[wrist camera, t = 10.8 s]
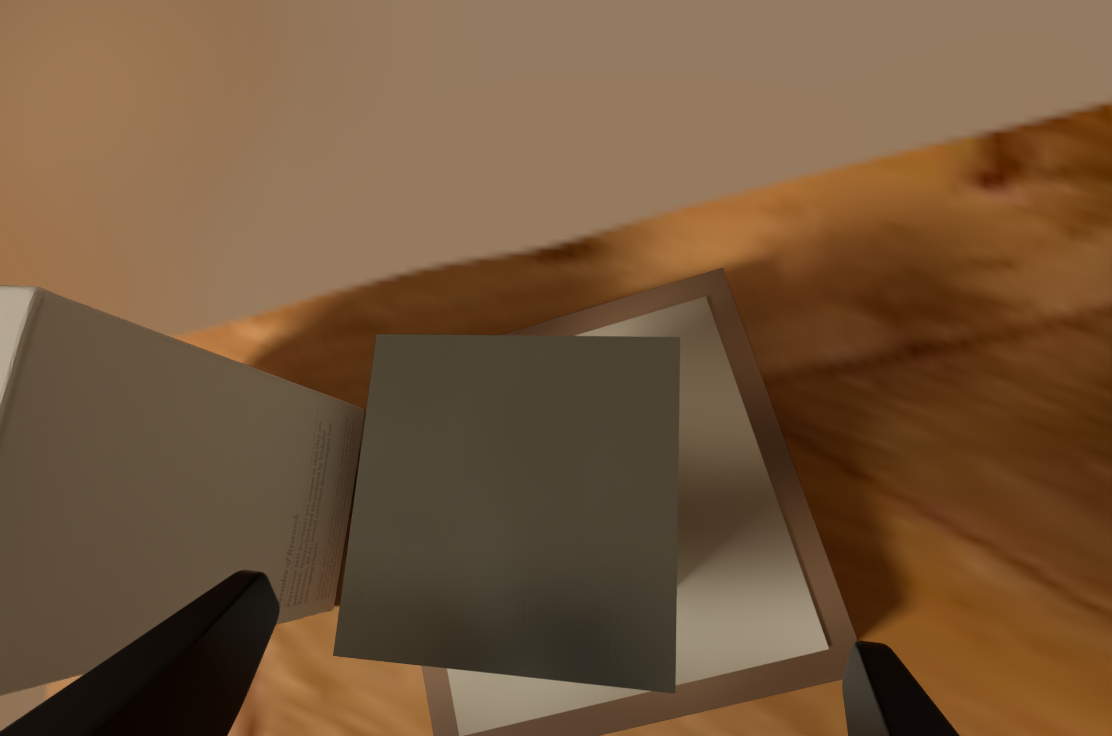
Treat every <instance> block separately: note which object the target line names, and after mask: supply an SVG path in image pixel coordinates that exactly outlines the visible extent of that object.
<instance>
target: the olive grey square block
mask: <svg viewBox="0 0 1112 736" xmlns="http://www.w3.org/2000/svg"><path fill="white" fill-rule="evenodd" d="M679 394H680V337H633V336H530V335H428V334H376V341H375V349H374V356H373V364H372V371H371V378H370V386H369V393H368V401H367V408H366V416H365V423H364V430H363V438H362V445H361V453H360V460H359V468H358V475H357V482H356V490H355V497H354V505H353V512H352V520H351V527H350V534H349V542H348V549H347V557H346V564H345V572H344V579H343V586H342V594H341V601H340V609H339V616H338V624H337V631H336V638H335V646H334V653H333V656H340V657H349V658H358V659H367V660H376V661H385V662H394V663H403V664H412V665H421V666H430V667H439V668H448V669H457V670H466V671H475V672H484V673H493V674H502V675H511V676H520V677H529V678H538V679H547V680H556V681H565V682H574V683H583V684H592V685H601V686H610V687H619V688H628V689H637V690H646V691H656V692H665V693H674V694H675V689H676V615H677V541H678V468H679Z"/></svg>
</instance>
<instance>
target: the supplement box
mask: <svg viewBox="0 0 1112 736" xmlns="http://www.w3.org/2000/svg"><path fill="white" fill-rule="evenodd" d="M364 413H365V412H364V410H363V409H362V408H360V407H358V406H356V405H353V404H350V403H348V402H345V401H343V400H340V399H337V398H335V397H332V396H329V395H327V394H324V393H321V392H319V391H316V390H313V389H310V388H307V387H305V386H302V385H299V384H297V383H294V382H291V381H289V380H286V379H283V378H281V377H278V376H275V375H273V374H270V373H267V372H265V371H262V370H259V369H256V368H254V367H251V366H248V365H245V364H243V363H240V362H237V361H234V360H231V359H229V358H226V357H223V356H221V355H218V354H215V353H213V352H210V351H207V350H204V349H202V348H199V347H196V346H194V345H191V344H188V343H185V342H183V341H180V340H177V339H174V338H172V337H169V336H166V335H164V334H161V333H158V332H156V331H153V330H151V329H148V328H145V327H142V326H140V325H137V324H135V323H132V322H129V321H127V320H124V319H121V318H118V317H116V316H113V315H110V314H108V313H105V312H102V311H100V310H97V309H94V308H92V307H89V306H86V305H84V304H81V303H78V302H75V301H72V300H69V299H67V298H65V297H62V296H60V295H57V294H55V293H52V292H50V291H47V290H45V289H43V288H40V287H32V286H8V285H6V286H5V285H0V696H2V695H6V694H10V693H14V692H18V691H21V690H25V689H29V688H33V687H37V686H41V685H45V684H48V683H52V682H56V681H60V680H64V679H68V678H71V677H75V676H79V675H83V674H86V673H87V672H89V671H90V670H92V669H93V668H94V667H96V666H97V665H99V664H100V663H102V662H103V661H105V660H106V659H108V658H109V657H111V656H112V655H114V654H115V653H117V652H118V651H120V650H121V649H123V648H124V647H126V646H127V645H128V644H130V643H131V642H133V641H134V640H136V639H137V638H139V637H140V636H142V635H143V634H145V633H146V632H148V631H149V630H151V629H152V628H154V627H155V626H157V625H158V624H159V623H161V622H162V621H164V620H165V619H167V618H168V617H170V616H171V615H173V614H174V613H176V612H177V611H179V610H180V609H182V608H183V607H185V606H186V605H188V604H189V603H191V602H192V601H193V600H195V599H196V598H198V597H199V596H201V595H202V594H204V593H205V592H207V591H208V590H210V589H211V588H213V587H214V586H216V585H217V584H219V583H220V582H222V581H223V580H224V579H226V578H227V577H229V576H230V575H232V574H233V573H235V572H237V571H240V570H252V571H260V572H263V573H265V574H266V575H267V576H268V578H269V581H270V583H271V585H272V587H273V590H274V592H275V594H276V596H277V599H278V601H279V604H280V613H279V618H278V621H277V623H276V625H277V624H281V623H285V622H289V621H293V620H297V619H301V618H304V617H308V616H312V615H316V614H319V613H323V612H329V611H332V609H333V608H334V602H335V598H336V592H337V586H338V580H339V575H340V568H341V562H342V555H343V550H344V543H345V538H346V532H347V526H348V519H349V513H350V507H351V501H352V496H353V489H354V483H355V476H356V470H357V464H358V457H359V450H360V444H361V440H362V432H363V423H364Z"/></svg>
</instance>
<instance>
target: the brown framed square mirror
mask: <svg viewBox="0 0 1112 736" xmlns="http://www.w3.org/2000/svg"><path fill="white" fill-rule="evenodd" d="M502 335H530V336H633V337H680V394H679V468H678V541H677V615H676V689H675V694H674V693H665V692H656V691H646V690H637V689H628V688H619V687H610V686H601V685H592V684H583V683H574V682H565V681H556V680H547V679H538V678H529V677H520V676H511V675H502V674H493V673H484V672H475V671H466V670H457V669H448V668H439V667H430V666H422V671H423V677H424V682H425V688H426V694H427V700H428V705H429V711H430V717H431V723H432V729H433V734H434V736H600V735H604V734H608V733H613V732H617V731H621V730H626V729H630V728H634V727H639V726H643V725H647V724H651V723H656V722H660V721H664V720H669V719H673V718H677V717H682V716H686V715H690V714H695V713H699V712H703V711H708V710H712V709H716V708H721V707H725V706H729V705H733V704H738V703H742V702H746V701H751V700H755V699H759V698H764V697H768V696H772V695H777V694H781V693H785V692H790V691H794V690H798V689H803V688H807V687H811V686H815V685H820V684H824V683H828V682H833V681H837V680H841V679H843V674H844V671H845V668H846V665H847V661H848V658H849V655H850V651H851V648H852V646H853V644H854V643H855V642H856V641H858V640H857V638H856V635H855V632H854V629H853V626H852V624H851V621H850V618H849V615H848V613H847V610H846V607H845V604H844V602H843V599H842V596H841V593H840V591H839V588H838V585H837V582H836V580H835V577H834V574H833V571H832V569H831V566H830V563H829V560H828V558H827V555H826V552H825V549H824V547H823V544H822V541H821V538H820V535H819V533H818V530H817V527H816V524H815V522H814V519H813V516H812V513H811V511H810V508H809V505H808V502H807V500H806V497H805V494H804V491H803V489H802V486H801V483H800V480H799V478H798V475H797V472H796V469H795V467H794V464H793V461H792V458H791V456H790V453H789V450H788V447H787V444H786V442H785V439H784V436H783V433H782V431H781V428H780V425H779V422H778V420H777V417H776V414H775V411H774V409H773V406H772V403H771V400H770V398H769V395H768V392H767V389H766V387H765V384H764V381H763V378H762V376H761V373H760V370H759V367H758V364H757V362H756V359H755V356H754V353H753V351H752V348H751V345H750V342H749V340H748V337H747V334H746V331H745V329H744V326H743V323H742V320H741V318H740V315H739V312H738V309H737V307H736V304H735V301H734V298H733V296H732V293H731V290H730V287H729V285H728V282H727V279H726V276H725V273H724V271H723V268H721V269H717V270H714V271H711V272H707V273H704V274H701V275H697V276H694V277H691V278H687V279H684V280H681V281H678V282H674V283H671V284H668V285H664V286H661V287H658V288H654V289H651V290H648V291H644V292H641V293H638V294H634V295H631V296H628V297H625V298H621V299H618V300H615V301H611V302H608V303H605V304H601V305H598V306H595V307H591V308H588V309H585V310H581V311H578V312H575V313H572V314H568V315H565V316H562V317H558V318H555V319H552V320H548V321H545V322H542V323H538V324H535V325H532V326H529V327H525V328H522V329H519V330H515V331H512V332H509V333H505V334H502Z"/></svg>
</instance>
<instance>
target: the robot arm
mask: <svg viewBox="0 0 1112 736" xmlns="http://www.w3.org/2000/svg"><path fill="white" fill-rule="evenodd" d="M279 613H280V604H279V601H278V599H277V596H276V594H275V592H274V590H273V587H272V585H271V583H270V581H269V578H268V576H267V575H266V574H265V573H263V572H260V571H252V570H240V571H237V572H235V573H233V574H232V575H230V576H229V577H227V578H226V579H224V580H223V581H222V582H220V583H219V584H217V585H216V586H214V587H213V588H211V589H210V590H208V591H207V592H205V593H204V594H202V595H201V596H199V597H198V598H196V599H195V600H193V601H192V602H191V603H189V604H188V605H186V606H185V607H183V608H182V609H180V610H179V611H177V612H176V613H174V614H173V615H171V616H170V617H168V618H167V619H165V620H164V621H162V622H161V623H159V624H158V625H157V626H155V627H154V628H152V629H151V630H149V631H148V632H146V633H145V634H143V635H142V636H140V637H139V638H137V639H136V640H134V641H133V642H131V643H130V644H128V645H127V646H126V647H124V648H123V649H121V650H120V651H118V652H117V653H115V654H114V655H112V656H111V657H109V658H108V659H106V660H105V661H103V662H102V663H100V664H99V665H97V666H96V667H94V668H93V669H92V670H90V671H89V672H87V673H86V674H84V675H83V676H81V677H80V678H78V679H77V680H75V681H74V682H72V683H71V684H69V685H68V686H66V687H65V688H63V689H62V690H60V691H59V692H58V693H56V694H55V695H53V696H52V697H50V698H49V699H47V700H46V701H44V702H43V703H41V704H40V705H38V706H37V707H35V708H34V709H33V710H31V711H29V712H28V713H27V714H25V715H24V716H22V717H21V718H19V719H18V720H16V721H15V722H13V723H12V724H10V725H9V726H7V727H6V728H4V729H3V730H1V731H0V736H227V735H228V733H229V731H230V729H231V727H232V725H233V723H234V721H235V719H236V717H237V715H238V713H239V711H240V709H241V707H242V704H243V702H244V700H245V698H246V695H247V693H248V691H249V688H250V686H251V683H252V681H253V679H254V676H255V674H256V671H257V669H258V666H259V664H260V662H261V659H262V657H263V654H264V652H265V650H266V647H267V645H268V642H269V640H270V638H271V635H272V633H273V630H274V628H275V626H276V623H277V621H278V618H279ZM842 687H843V698H844V706H845V713H846V721H847V729H848V736H959V734H958V733H957V732H956V730H955V729H954V728H953V727H952V725H951V724H950V723H949V722H948V720H947V719H946V718H945V716H944V715H943V714H942V713H941V711H940V710H939V709H938V708H937V706H936V705H935V704H934V702H933V701H932V700H931V699H930V697H929V696H928V695H927V694H926V692H925V691H924V690H923V688H922V687H921V686H920V685H919V683H918V682H917V681H916V680H915V678H914V677H913V676H912V674H911V673H910V672H909V671H908V669H907V668H906V667H905V666H904V664H903V663H902V662H901V660H900V659H899V658H898V657H897V655H896V654H895V653H894V652H893V650H892V649H891V648H890V647H888V646H887V645H885V644H882V643H875V642H867V641H856V642H855V643H854V644H853V646H852V648H851V651H850V655H849V658H848V661H847V665H846V668H845V671H844V674H843V683H842Z"/></svg>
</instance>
